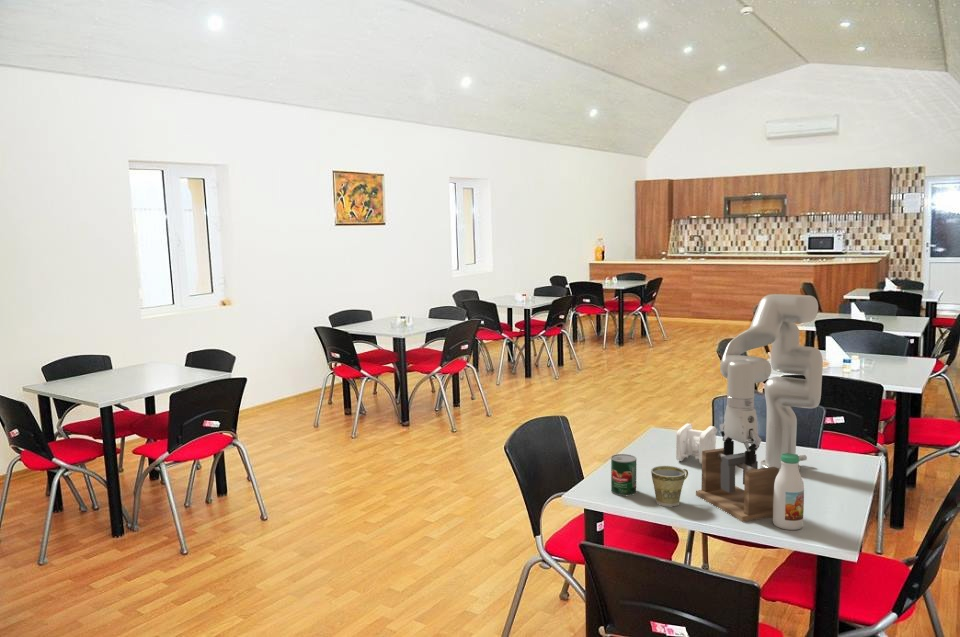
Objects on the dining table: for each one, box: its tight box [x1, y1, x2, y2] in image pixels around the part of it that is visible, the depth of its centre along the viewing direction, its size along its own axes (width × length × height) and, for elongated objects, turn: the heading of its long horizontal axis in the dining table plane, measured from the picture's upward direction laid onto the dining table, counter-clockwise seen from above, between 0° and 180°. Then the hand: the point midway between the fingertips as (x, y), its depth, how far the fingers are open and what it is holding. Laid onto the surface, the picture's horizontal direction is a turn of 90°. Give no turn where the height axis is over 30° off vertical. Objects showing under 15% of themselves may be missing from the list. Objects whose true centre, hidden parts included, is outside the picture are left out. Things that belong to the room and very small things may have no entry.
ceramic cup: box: [650, 465, 689, 507], centre depth 219 cm, size 13×10×10 cm
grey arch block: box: [721, 451, 759, 493], centre depth 214 cm, size 10×4×10 cm, turn 109°
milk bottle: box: [772, 453, 805, 531], centre depth 199 cm, size 8×8×20 cm
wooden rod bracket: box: [695, 447, 779, 523], centre depth 215 cm, size 22×14×14 cm, turn 18°
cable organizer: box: [675, 422, 718, 465], centre depth 258 cm, size 15×11×12 cm
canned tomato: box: [610, 453, 637, 497], centre depth 228 cm, size 8×8×11 cm
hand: (739, 459), depth 214 cm, fingers open, 9 cm apart
